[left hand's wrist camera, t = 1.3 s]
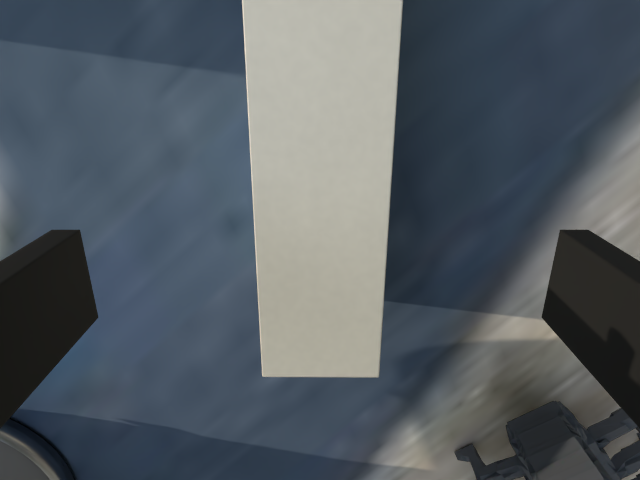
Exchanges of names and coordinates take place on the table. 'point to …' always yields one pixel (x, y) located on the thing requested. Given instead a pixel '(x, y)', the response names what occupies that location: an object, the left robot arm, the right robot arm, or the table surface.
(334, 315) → the bar
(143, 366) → the table surface
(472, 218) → the table surface
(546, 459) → the toy
